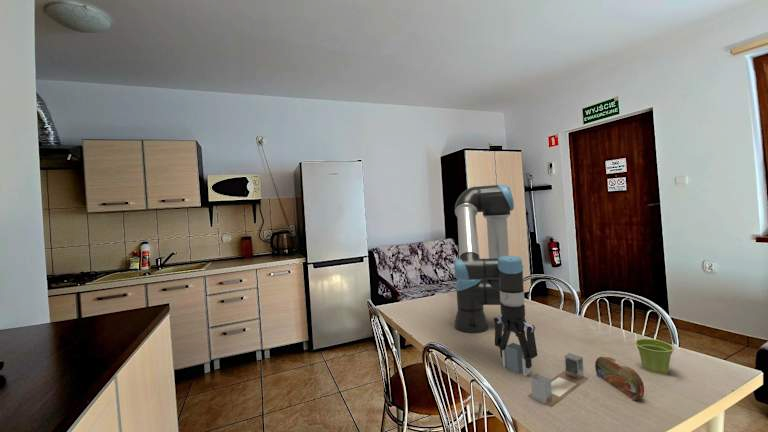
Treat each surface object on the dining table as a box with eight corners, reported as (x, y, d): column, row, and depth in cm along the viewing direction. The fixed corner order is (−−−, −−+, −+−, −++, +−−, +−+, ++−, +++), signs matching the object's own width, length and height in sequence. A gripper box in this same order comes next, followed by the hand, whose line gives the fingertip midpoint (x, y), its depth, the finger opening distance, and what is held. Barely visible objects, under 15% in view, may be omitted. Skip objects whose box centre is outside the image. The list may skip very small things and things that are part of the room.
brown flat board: (527, 400, 92) (527, 395, 92) (565, 373, 104) (565, 369, 104) (552, 411, 86) (551, 406, 86) (589, 382, 99) (589, 377, 99)
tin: (594, 378, 101) (593, 352, 100) (604, 377, 101) (602, 351, 101) (636, 408, 86) (635, 376, 85) (647, 406, 86) (646, 375, 86)
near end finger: (532, 398, 91) (531, 377, 91) (539, 393, 93) (538, 372, 93) (546, 404, 87) (545, 382, 87) (553, 399, 89) (551, 378, 89)
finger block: (507, 372, 107) (505, 346, 107) (515, 368, 110) (514, 342, 110) (518, 377, 104) (516, 349, 104) (526, 372, 107) (525, 345, 107)
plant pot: (678, 382, 96) (677, 353, 96) (638, 375, 101) (637, 347, 101) (671, 368, 104) (670, 341, 103) (634, 362, 109) (633, 336, 108)
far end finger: (564, 375, 101) (563, 356, 101) (570, 371, 103) (569, 353, 103) (578, 380, 98) (577, 361, 98) (583, 376, 100) (582, 357, 100)
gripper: (480, 300, 112) (484, 365, 112) (534, 312, 96) (538, 388, 96) (494, 295, 117) (497, 359, 117) (547, 307, 100) (551, 380, 101)
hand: (516, 372), depth 107 cm, fingers open, 7 cm apart
